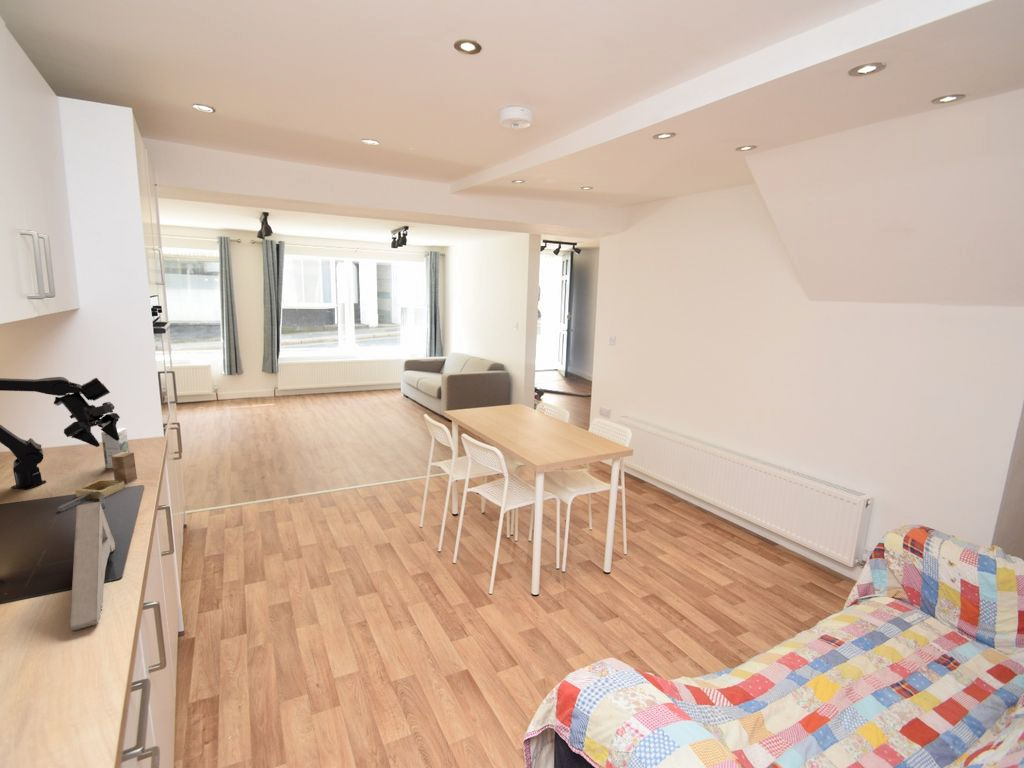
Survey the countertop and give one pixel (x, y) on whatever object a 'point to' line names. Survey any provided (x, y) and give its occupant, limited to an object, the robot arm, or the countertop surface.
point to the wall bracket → (89, 564)
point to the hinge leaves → (94, 492)
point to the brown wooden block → (124, 467)
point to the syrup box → (114, 445)
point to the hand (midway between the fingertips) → (108, 443)
